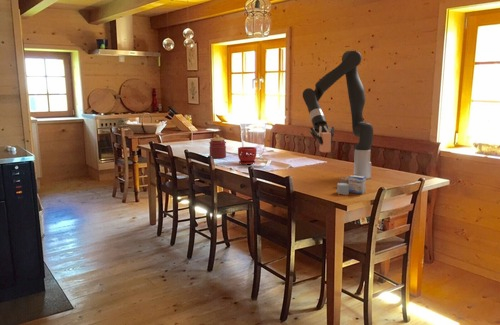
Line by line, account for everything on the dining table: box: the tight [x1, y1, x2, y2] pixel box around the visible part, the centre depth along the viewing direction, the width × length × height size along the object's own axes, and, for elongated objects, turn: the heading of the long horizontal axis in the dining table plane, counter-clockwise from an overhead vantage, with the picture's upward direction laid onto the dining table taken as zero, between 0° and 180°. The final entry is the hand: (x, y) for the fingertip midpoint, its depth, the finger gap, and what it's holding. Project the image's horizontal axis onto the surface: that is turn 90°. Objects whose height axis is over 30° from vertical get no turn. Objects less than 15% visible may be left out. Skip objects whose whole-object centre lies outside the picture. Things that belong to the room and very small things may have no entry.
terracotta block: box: [318, 132, 332, 153], centre depth 228 cm, size 4×4×10 cm
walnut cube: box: [339, 176, 349, 185], centre depth 235 cm, size 5×5×5 cm
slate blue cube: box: [336, 182, 350, 196], centre depth 222 cm, size 5×5×5 cm
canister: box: [208, 134, 227, 160], centre depth 332 cm, size 13×13×18 cm
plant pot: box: [237, 146, 257, 166], centre depth 304 cm, size 13×13×12 cm
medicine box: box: [348, 174, 367, 195], centre depth 224 cm, size 8×4×9 cm, turn 56°
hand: (326, 143), depth 226 cm, fingers closed on terracotta block, 4 cm apart
